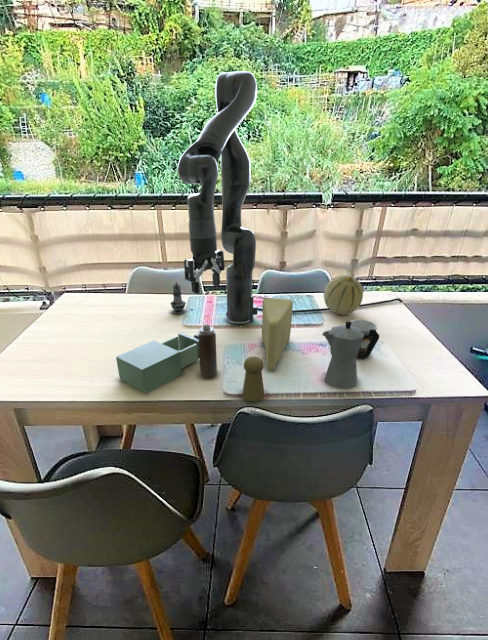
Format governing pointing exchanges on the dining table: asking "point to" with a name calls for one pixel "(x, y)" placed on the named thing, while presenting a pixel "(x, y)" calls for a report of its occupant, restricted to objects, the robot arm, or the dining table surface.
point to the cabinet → (149, 366)
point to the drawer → (185, 347)
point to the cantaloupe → (343, 294)
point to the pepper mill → (207, 352)
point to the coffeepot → (346, 353)
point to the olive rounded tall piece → (253, 379)
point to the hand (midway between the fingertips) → (206, 289)
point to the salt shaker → (177, 300)
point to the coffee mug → (366, 340)
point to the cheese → (276, 328)
